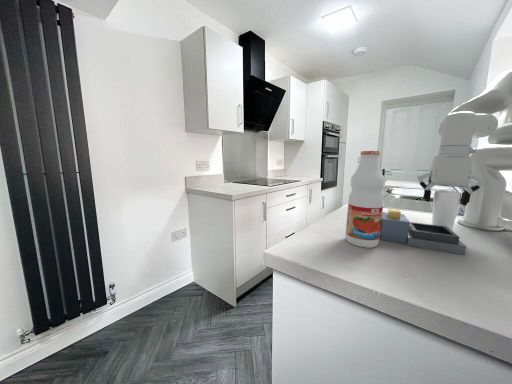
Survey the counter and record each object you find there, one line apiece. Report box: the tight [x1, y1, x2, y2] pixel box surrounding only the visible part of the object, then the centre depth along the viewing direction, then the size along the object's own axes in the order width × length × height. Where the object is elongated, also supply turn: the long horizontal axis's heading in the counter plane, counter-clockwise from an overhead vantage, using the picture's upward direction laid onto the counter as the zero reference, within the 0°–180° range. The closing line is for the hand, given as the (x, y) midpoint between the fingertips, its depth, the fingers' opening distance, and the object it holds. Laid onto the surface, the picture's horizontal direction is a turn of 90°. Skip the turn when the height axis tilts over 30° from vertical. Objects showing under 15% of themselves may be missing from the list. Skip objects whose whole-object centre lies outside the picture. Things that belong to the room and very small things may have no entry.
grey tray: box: [379, 208, 467, 256], centre depth 68 cm, size 22×13×9 cm, turn 64°
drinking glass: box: [431, 190, 462, 231], centre depth 73 cm, size 7×7×15 cm
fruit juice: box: [345, 150, 386, 249], centre depth 64 cm, size 9×9×28 cm
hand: (444, 202), depth 72 cm, fingers open, 9 cm apart
